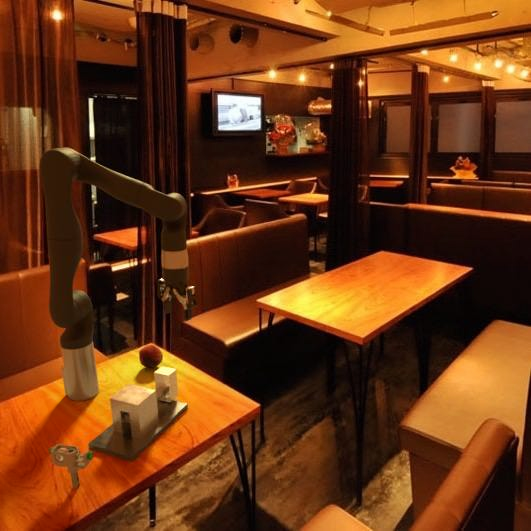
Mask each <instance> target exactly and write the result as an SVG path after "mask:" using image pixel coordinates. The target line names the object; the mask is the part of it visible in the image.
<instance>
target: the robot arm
mask: <svg viewBox="0 0 531 531" xmlns="http://www.w3.org/2000/svg"><path fill="white" fill-rule="evenodd" d="M39 173H40V174H39V175H40V181H41V184H42V190H43V191H42V192H43V197H44V204H45V219H46V220H45V221H46V238H47V240H46V241H47V250H48V260H49V265H48V266H49V300H48V302H49V303H48V307H49V308H48V310H49V315H50V318H51V320H52V323H53V324H54V325H55V326H56V327H58V328H60V329H64V331H63V332H62V333H61V335H60V337H59V344H60V349H61V351H60V352H61V355H62V364H63V366H62V367H61V372H62V380H63V381H62V382H63V386H64V394H65V396H68V399H70V400H71V401H75V402H77V401H78V402H79V401H85V400H89V399H92V398H94V397H95V396H97V395H98V393H99V391H100V386H99V380H98V371H97V364H96V355H95V348H94V341H93V340H94V339H93V335H94V334H95V333H94V332H95V325H94V324H95V322H94V311H93V310H94V309H93V308H94V307H93V303H92V300H91V298H90V296H89V295H88V294H87V293H86V292H85V291H83V290H81V289H80V290H79V289H75V290H74V281H75V277H76V273H77V271H78V269H79V266H80V263H81V260H82V257H83V252H84V242H83V241H84V238H83V230H82V225H81V222H80V220H79V216H78V215H77V213H76V210H75V208H74V204H73V195H72V194H73V193H72V191H73V190H72V186H73V181H76V182H79V183H85V184H88V185H91V186H93V187H96V188H98V189H99V190H101V191H103V192H105V193H106V194H108V195H110V196H111V197H113V198H114V199H116V200H119V202H120V201H121V202H122V203H125V204H126V205H127V204H128V205H130V206H133V207H135V208H138V209H142V210H144V211H145V212H147V213H148V214H150V215H152V216H154V217H155V218H158V219H160V220H161V221H162V223H163V227H162V230H161V234H160V239H161V240H160V241H161V255H160V256H161V258H160V259H161V272H162V278H160V279H157V283H156V285H157V288H156V289H157V291H156V293H157V294H156V295H157V298H158V299H160V300H161V302H162V304H163V305H162V306H163V313H164V314H166V315H167V314H170V313H171V312H172V300H171V299H172V298H175V299H176V300H178V301H179V303H181V305H182V307H183V315H184V316H183V318H184V321H185V322H188V321H190V320H191V319H192V318H193V308H196V307H198V296H197V288H196V286H189V285H188V280H189V279H190V275H189V274H190V272H189V270H190V269H189V267H190V266H189V253H188V249H187V248H188V247H187V246H188V243H187V242H188V241H187V230H186V229H187V219H188V204H187V202H186V199H185V198H184V196H182V195H181V194H180V193H177V192H170V193H168V194H166V193H163V192H160V191H158V190H155V188H154V187H153V186H152V185H151V184H148V183H146V182H144V181H141V180H139V179H135V178H133V177H130V176H127V175H125V174H123V173H120V172H117V171H115V170H113V169H110V168H108V167H105V166H103V165H101V164H99V163H97V162H96V161H93V160H92V159H90V158H89V157H86V156H85V155H83V154H81V153H79V152H78V151H76V150H75V149H72V148H70V147H65V146H64V147H57V148H56V147H55V148H52V149H49V150H47V151H45V152H44V153H42V155H41V156H40V160H39Z"/></svg>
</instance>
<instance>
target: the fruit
mask: <svg viewBox="0 0 531 531" xmlns="http://www.w3.org/2000/svg"><path fill="white" fill-rule="evenodd" d="M138 355H139V356H138V357H139V362H140V364H141V365H142V366H143V367H144V368H146V369H147V370H151V369H152V370H153V369H154V368H157V367H158V366H159V365H160V364H161V363H162V362H163V358H164V356H163V352H162V351H161V349H160V348H158V346H156V345H154V344H148V345H145V346H144V347H142V348H141V349H140V350H139V352H138Z"/></svg>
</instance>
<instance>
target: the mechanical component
mask: <svg viewBox="0 0 531 531" xmlns="http://www.w3.org/2000/svg"><path fill="white" fill-rule="evenodd" d="M48 453H49V455H50V457H51V461H52V463H53V465H54V466H57V467H65V468H67V472H68V474H70V478H71V483H72V484H71V485H72V486H71V487H72V488H73V489H78V487H79V486H80V476H79V471H80V470H84V469H86V468H87V467H88V466H89V464H90V463H91V462H92V460H93V458H94V452H93V451H92V450H91V449H89V450H88V449H87V450H85V452H81V450H80V449H79V448H78V446H77V445H67V444H60V443H59V444H58V443H57V444H56V445H55V446H52V447H50V449H49V451H48Z"/></svg>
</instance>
